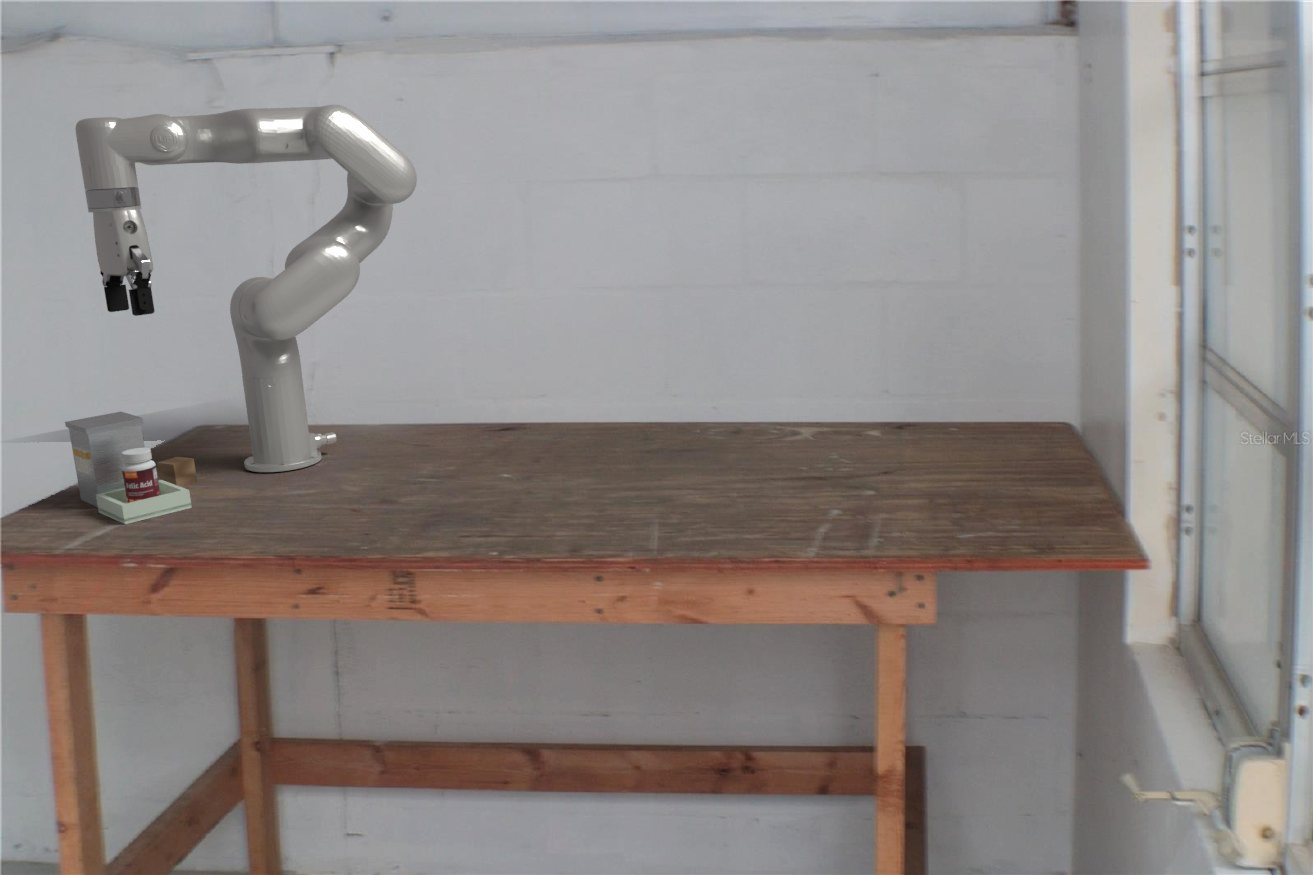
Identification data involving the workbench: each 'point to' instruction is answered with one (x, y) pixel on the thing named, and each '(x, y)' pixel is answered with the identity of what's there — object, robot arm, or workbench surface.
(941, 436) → the workbench surface
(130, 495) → the pill bottle
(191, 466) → the walnut block
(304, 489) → the workbench surface
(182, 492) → the tray
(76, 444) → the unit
